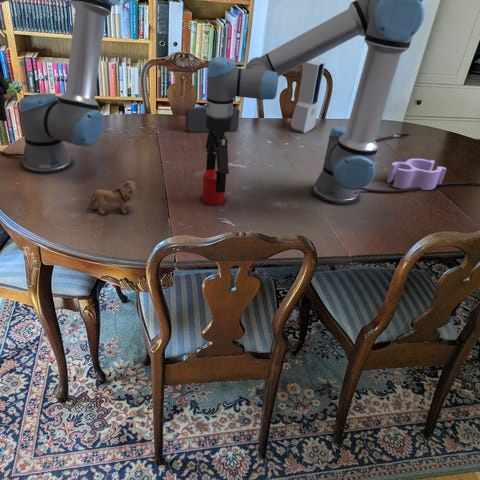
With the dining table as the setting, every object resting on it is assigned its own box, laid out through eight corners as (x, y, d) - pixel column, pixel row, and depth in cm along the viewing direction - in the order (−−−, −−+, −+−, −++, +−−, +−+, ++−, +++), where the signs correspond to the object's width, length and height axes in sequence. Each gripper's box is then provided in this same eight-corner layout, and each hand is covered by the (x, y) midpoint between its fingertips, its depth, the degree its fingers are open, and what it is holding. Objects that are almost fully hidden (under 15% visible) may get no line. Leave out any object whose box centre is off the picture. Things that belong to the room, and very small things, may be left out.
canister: (228, 200, 149) (230, 175, 145) (212, 207, 145) (214, 181, 140) (212, 192, 153) (214, 167, 148) (197, 199, 149) (198, 173, 144)
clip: (400, 192, 166) (405, 174, 163) (380, 176, 176) (385, 159, 172) (445, 188, 173) (451, 171, 169) (424, 174, 182) (429, 157, 179)
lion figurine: (135, 203, 142) (134, 176, 137) (138, 212, 138) (137, 185, 133) (85, 208, 137) (82, 180, 132) (86, 217, 133) (83, 189, 128)
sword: (406, 132, 223) (406, 130, 222) (411, 134, 221) (412, 132, 220) (362, 144, 207) (363, 141, 206) (368, 146, 205) (368, 143, 204)
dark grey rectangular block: (236, 128, 206) (238, 106, 201) (238, 130, 204) (240, 108, 199) (185, 129, 199) (186, 106, 194) (186, 132, 197) (187, 108, 192)
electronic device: (303, 134, 208) (315, 64, 192) (289, 129, 211) (299, 60, 195) (315, 127, 218) (327, 60, 201) (300, 123, 221) (312, 56, 204)
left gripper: (-69, 47, 92) (-44, 148, 104) (14, 30, 113) (28, 116, 124) (-101, 41, 94) (-72, 142, 105) (-12, 26, 114) (4, 111, 126)
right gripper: (197, 102, 143) (195, 165, 155) (215, 130, 123) (212, 201, 135) (221, 102, 145) (217, 165, 157) (243, 130, 125) (237, 200, 137)
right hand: (215, 182), depth 146 cm, fingers open, 13 cm apart
